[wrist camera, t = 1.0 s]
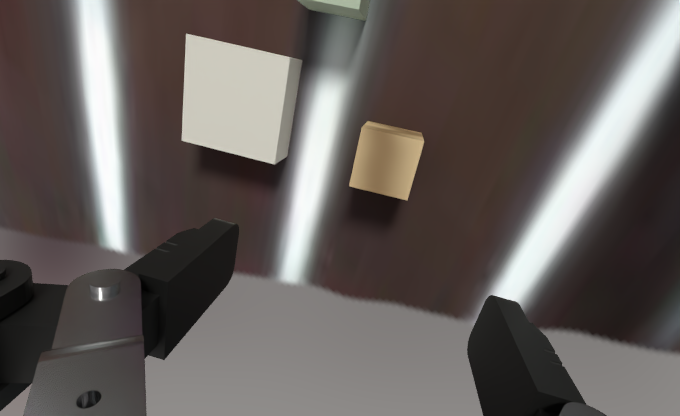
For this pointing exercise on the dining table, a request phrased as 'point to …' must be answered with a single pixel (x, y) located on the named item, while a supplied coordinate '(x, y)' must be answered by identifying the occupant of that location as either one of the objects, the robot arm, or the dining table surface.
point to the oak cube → (386, 160)
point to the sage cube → (340, 7)
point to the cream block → (239, 99)
